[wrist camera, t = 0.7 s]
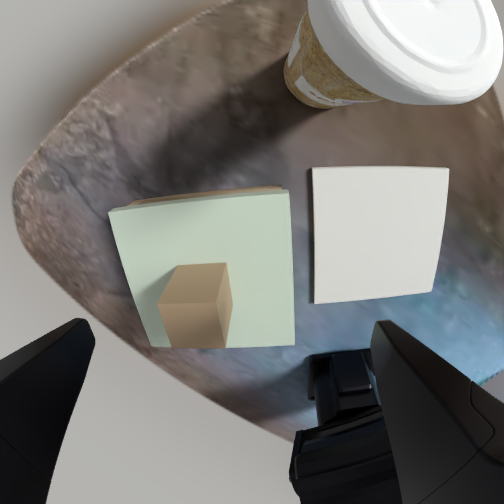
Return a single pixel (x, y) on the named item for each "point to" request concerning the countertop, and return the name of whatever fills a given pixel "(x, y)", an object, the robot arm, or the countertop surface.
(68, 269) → the countertop surface
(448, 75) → the sprinkles bottle
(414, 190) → the mat
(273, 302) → the lid
